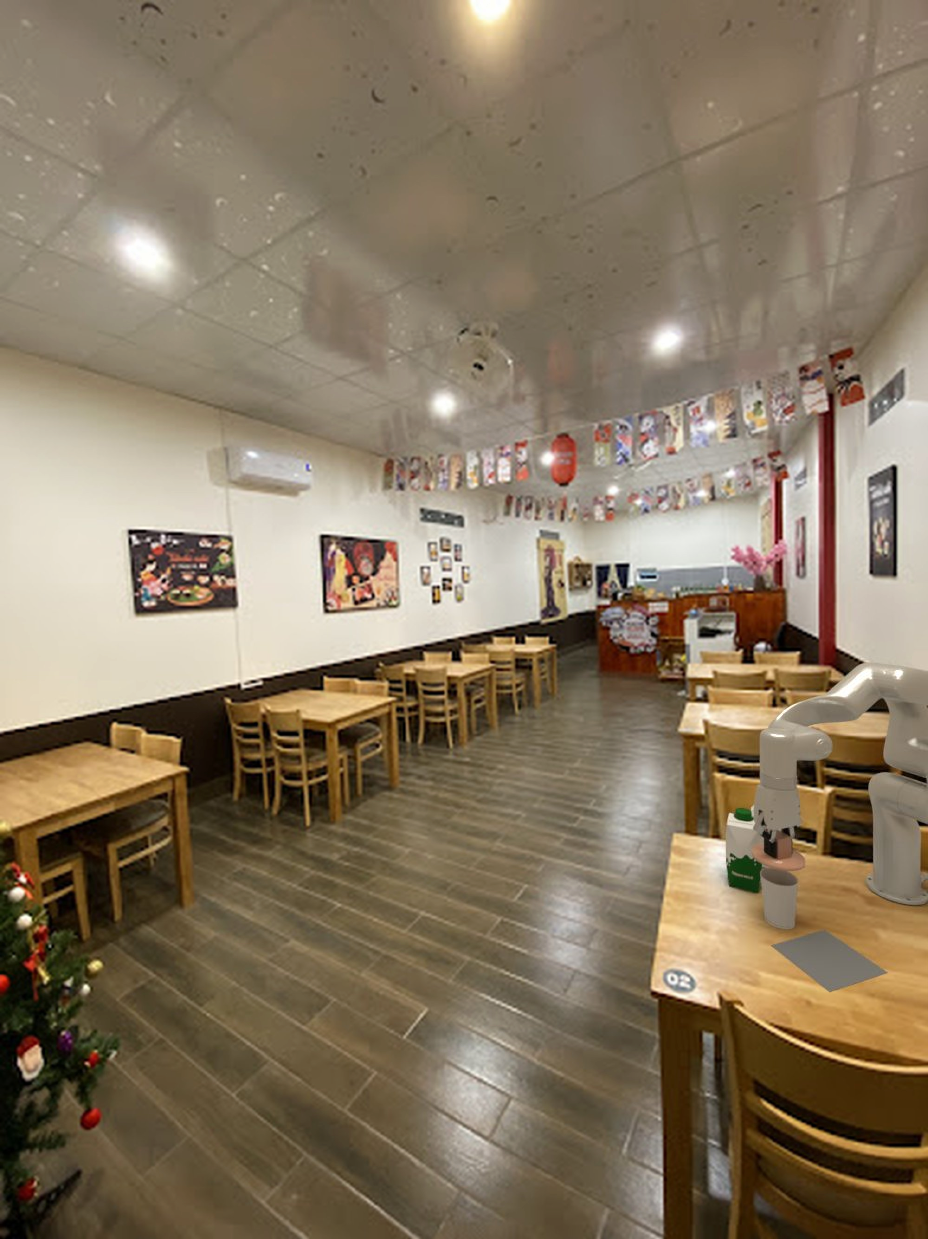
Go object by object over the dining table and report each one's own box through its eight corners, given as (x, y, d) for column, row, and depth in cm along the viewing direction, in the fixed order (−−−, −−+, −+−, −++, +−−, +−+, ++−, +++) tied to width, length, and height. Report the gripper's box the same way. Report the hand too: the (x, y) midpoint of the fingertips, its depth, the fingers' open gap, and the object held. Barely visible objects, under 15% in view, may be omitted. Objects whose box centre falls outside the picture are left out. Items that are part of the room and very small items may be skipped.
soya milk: (762, 879, 141) (761, 810, 140) (761, 896, 134) (761, 824, 132) (727, 871, 146) (726, 804, 145) (725, 887, 138) (724, 817, 137)
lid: (776, 843, 129) (776, 821, 128) (816, 866, 118) (816, 841, 118) (741, 851, 126) (741, 828, 126) (779, 874, 115) (779, 849, 115)
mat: (824, 932, 119) (824, 929, 119) (888, 976, 106) (888, 972, 106) (770, 948, 115) (770, 945, 115) (829, 995, 102) (829, 992, 102)
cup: (805, 936, 118) (804, 887, 118) (768, 933, 120) (767, 885, 119) (790, 914, 126) (789, 868, 126) (755, 911, 128) (755, 866, 127)
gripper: (791, 770, 127) (791, 840, 128) (737, 779, 122) (737, 852, 123) (819, 781, 119) (819, 855, 121) (763, 791, 115) (763, 868, 116)
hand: (778, 853), depth 122 cm, fingers closed on lid, 4 cm apart
